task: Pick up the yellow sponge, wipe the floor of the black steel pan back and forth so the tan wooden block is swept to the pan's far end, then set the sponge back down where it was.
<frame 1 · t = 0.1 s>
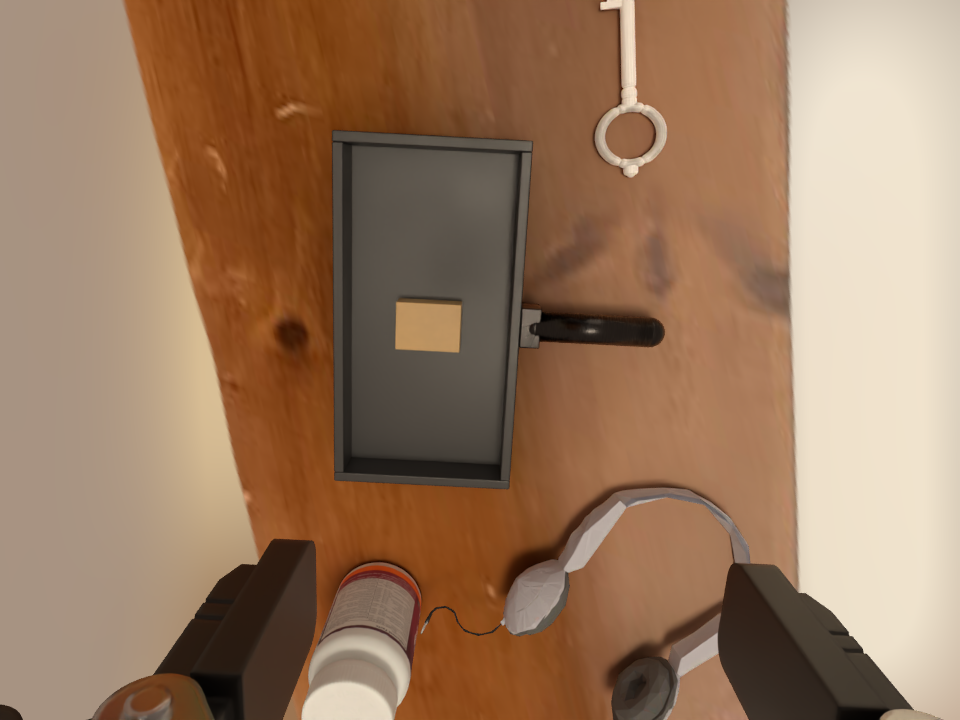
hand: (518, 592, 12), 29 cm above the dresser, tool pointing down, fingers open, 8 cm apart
key: (626, 71, 37), on the dresser
pill bottle: (380, 594, 46), on the dresser
pan: (430, 313, 40), on the dresser
headphones: (602, 581, 45), on the dresser
tan wooden block: (430, 322, 40), resting on pan
pan handle: (591, 328, 38), point 2 cm above the dresser
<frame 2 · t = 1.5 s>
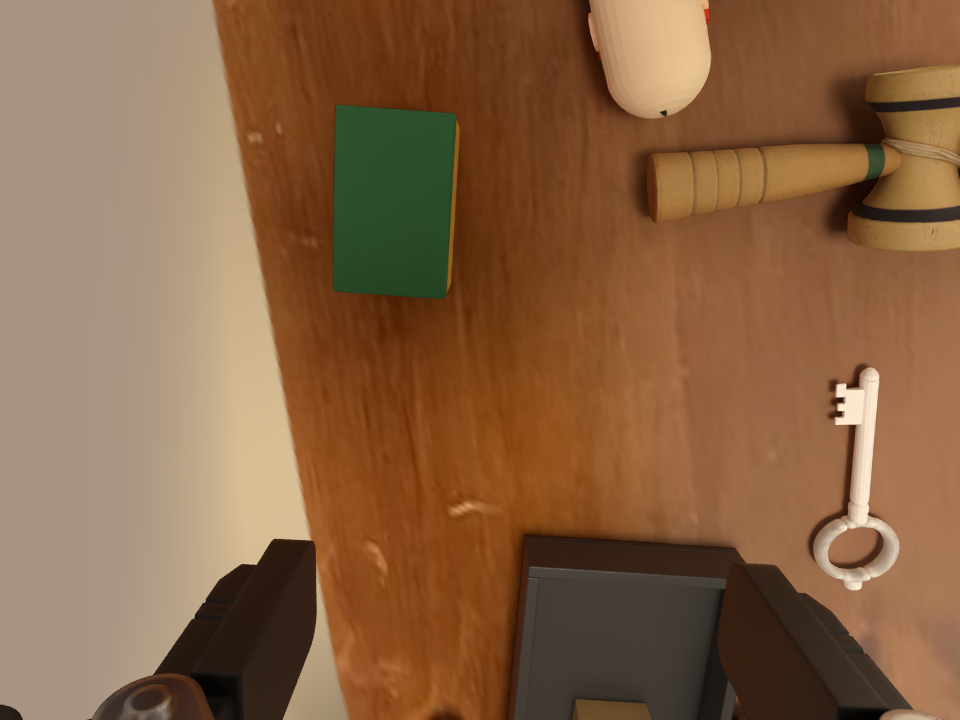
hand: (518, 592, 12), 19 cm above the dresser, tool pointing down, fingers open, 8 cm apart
kendama: (835, 168, 29), on the dresser
key: (853, 477, 32), on the dresser
sponge: (406, 205, 29), on the dresser
pan: (606, 708, 36), on the dresser
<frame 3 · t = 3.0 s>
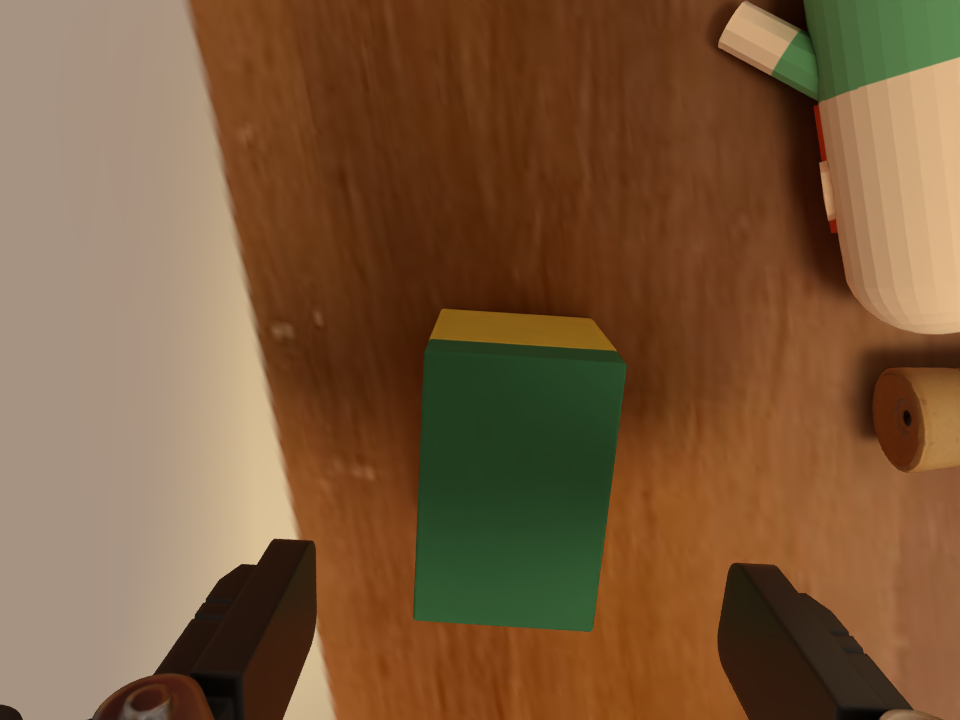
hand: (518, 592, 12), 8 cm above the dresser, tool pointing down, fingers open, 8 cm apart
toy figurine: (847, 97, 17), on the dresser
sponge: (508, 423, 20), on the dresser
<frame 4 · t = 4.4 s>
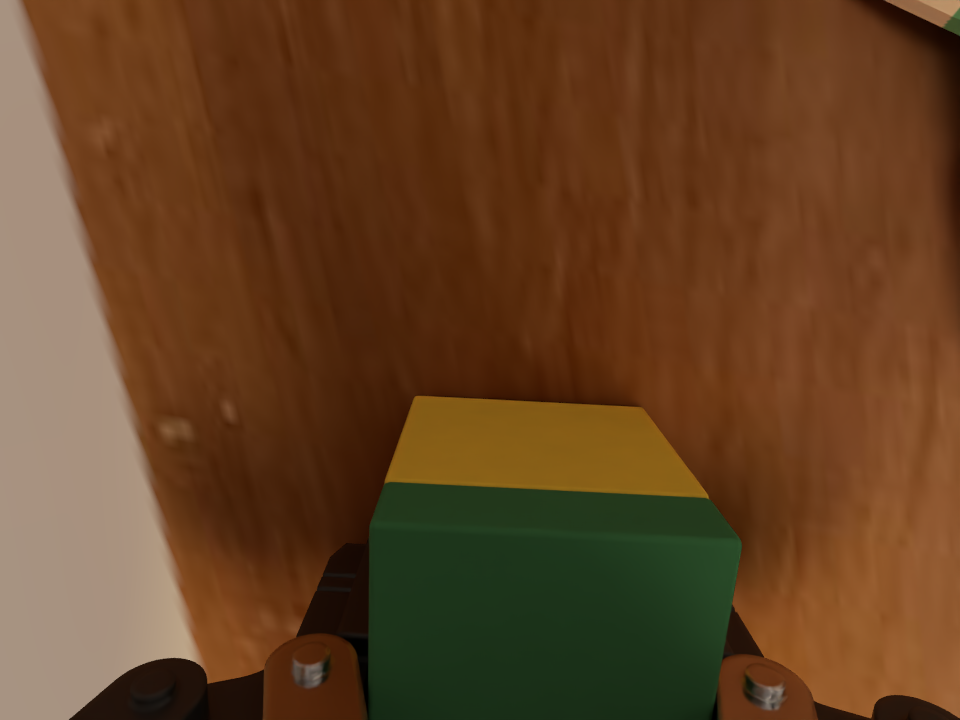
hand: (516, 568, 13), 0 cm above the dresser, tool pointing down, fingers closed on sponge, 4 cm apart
sponge: (517, 558, 13), on the dresser, touching gripper
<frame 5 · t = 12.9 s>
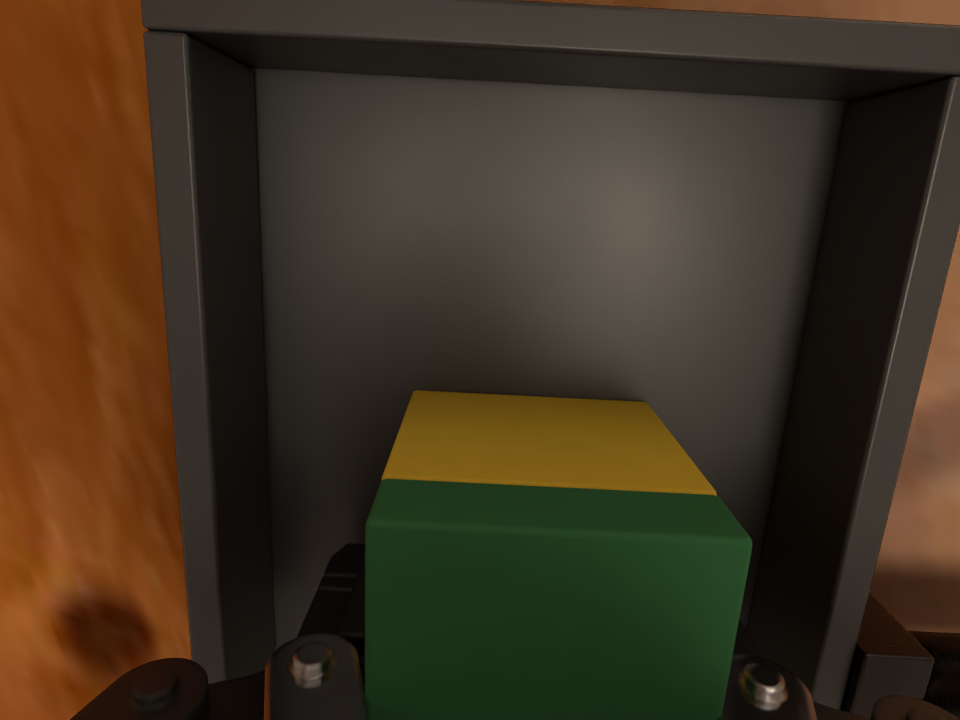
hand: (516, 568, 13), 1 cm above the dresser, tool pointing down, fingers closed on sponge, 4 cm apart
sponge: (518, 556, 13), point 1 cm above the dresser, touching gripper
pan: (511, 584, 14), on the dresser
when the fingers open (0 cm above the dresser, at t = 22.6 s): sponge stays where it is, on the dresser.
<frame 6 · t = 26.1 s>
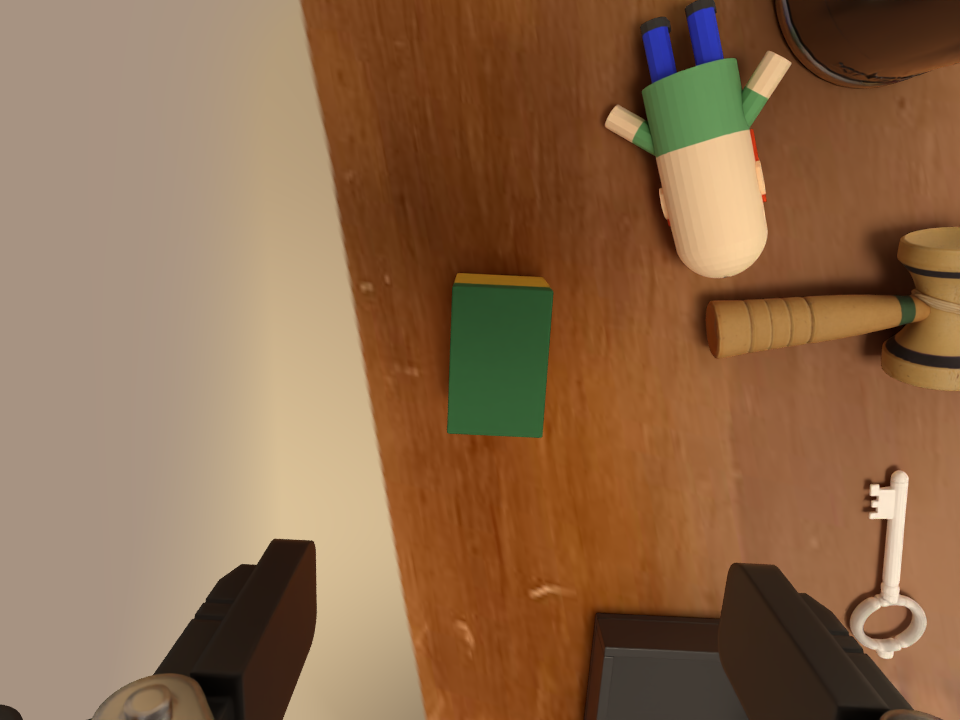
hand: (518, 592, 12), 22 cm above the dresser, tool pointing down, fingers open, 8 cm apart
toy figurine: (679, 152, 31), on the dresser
kendama: (869, 303, 33), on the dresser
key: (885, 561, 37), on the dresser
sponge: (496, 340, 33), on the dresser
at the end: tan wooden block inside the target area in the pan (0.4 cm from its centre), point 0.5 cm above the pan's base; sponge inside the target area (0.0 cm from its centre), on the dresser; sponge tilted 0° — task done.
